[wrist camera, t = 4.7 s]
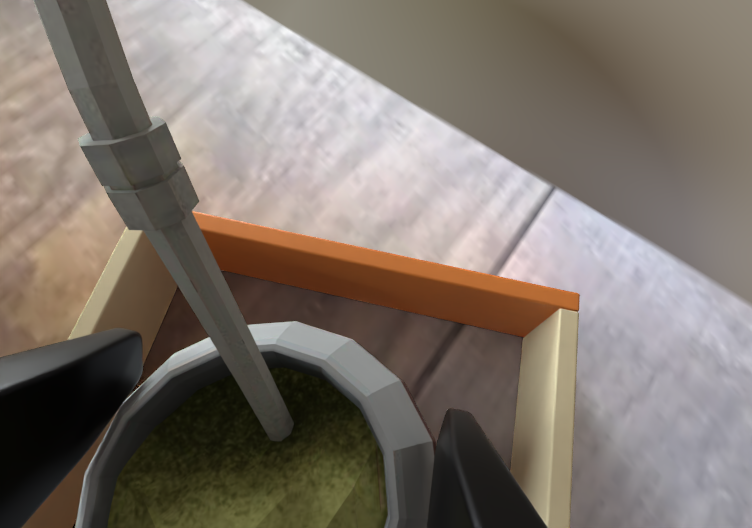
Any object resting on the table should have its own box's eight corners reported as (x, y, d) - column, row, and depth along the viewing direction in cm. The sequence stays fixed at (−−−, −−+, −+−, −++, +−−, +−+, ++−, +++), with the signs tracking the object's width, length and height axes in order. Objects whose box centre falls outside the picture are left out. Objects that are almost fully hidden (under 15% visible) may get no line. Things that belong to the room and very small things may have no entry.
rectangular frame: (501, 813, 12) (553, 946, 8) (-9, 662, 13) (-136, 729, 9) (539, 325, 17) (580, 293, 14) (179, 246, 18) (139, 199, 15)
